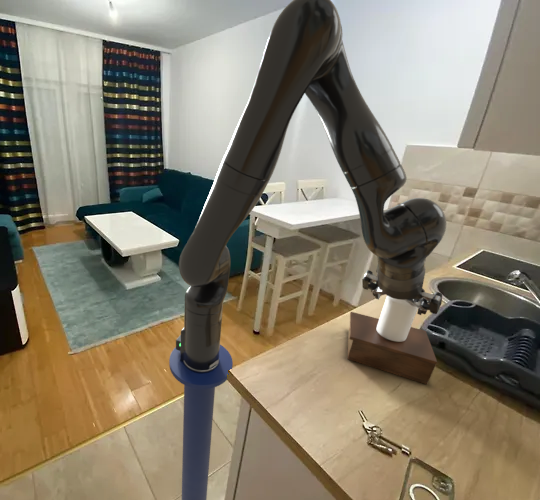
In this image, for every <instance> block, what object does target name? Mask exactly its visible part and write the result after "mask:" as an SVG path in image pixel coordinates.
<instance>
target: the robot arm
mask: <svg viewBox="0 0 540 500" xmlns="http://www.w3.org/2000/svg"><path fill="white" fill-rule="evenodd" d="M342 26H343V25H342V21H341V18H340V15H339V12H338V10H337V7H336V5H335V4H334V3H333V1H332V0H291V2H289V3H288V4H287V5H286V6H285V7H284V9H282V11H281V12H280V13H279V15H278V17H277V18H276V19H275V22H274V23H273V26H272V28H271V30H270V33H269V36H268V39H267V42H266V45H265V49H264V51H263V56H262V59H261V62H260V65H259V69H258V72H257V74H256V77H255V81H254V84H253V88H252V89H251V93H250V95H249V99H248V101H247V104H246V105H245V107H244V110H243V113H242V115H241V117H240V119H239V121H238V123H237V126H236V128H235V130H234V132H233V135H232V138H231V140H230V142H229V145H228V147H227V150H226V151H225V154H224V155H223V158H222V160H221V163H220V165H219V168H218V171H217V173H216V176H215V178H214V180H213V184H212V186H211V189H210V191H209V194H208V196H207V199H206V201H205V203H204V206H203V209H202V211H201V214H200V216H199V219H198V221H197V223H196V225H195V228H194V229H193V230H192V231H193V232H192V233H191V235H190V236H189V238H188V240H187V243H186V244H185V245H184V247H183V249H182V251H181V253H180V256H179V260H178V269H179V274H180V277H181V278H182V280H183V281H184V282H185V284H187V285H189V286H188V288H187V290H186V291H185V294H184V310H183V312H184V313H183V315H184V316H183V318H184V319H183V328H182V329H181V330H180V334H179V336H178V337H177V338H176V339H175V347H176V350H179V351H180V361H182V362H183V363H184V365H185V366H186V367H187V368H188V369H189V370H191V371H193V372H196V373H208V372H211V371H213V370H214V369H216V367H217V366H218V364H219V350H220V345H221V336H222V324H223V323H222V322H223V311H224V301H225V298H226V296H227V293H228V288H229V283H230V282H229V280H230V273H231V254H230V250H229V248H228V247H227V244H228V242H229V240H230V239H231V238H232V236H233V234H234V233H235V232H236V231H237V230H238V228H239V227H241V225H242V224H243V223H244V221H245V220H246V219H247V217H248V216H249V215H250V214H251V212H252V211H253V210H254V208H255V207H256V205H257V204H258V203H259V201H260V199H261V197H262V196H263V194H264V191H266V188H267V187H268V184H269V182H270V181H271V179H272V177H273V174H274V173H275V170H276V167H277V164H278V162H279V159H280V156H281V152H282V149H283V145H284V142H285V139H286V135H287V131H288V129H289V126H290V123H291V120H292V118H293V115H294V113H295V111H296V109H297V107H298V106H299V104H300V102H301V101H302V99H303V97H304V95H305V96H306V97H307V99H308V100H309V101H310V103H311V105H312V107H313V108H314V110H315V111H316V113H317V115H318V117H319V119H320V121H321V124H322V126H323V128H324V131H325V133H326V136H327V139H328V142H329V144H330V147H331V150H332V152H333V155H334V157H335V159H336V161H337V164H338V166H339V168H340V170H341V172H342V174H343V176H344V177H345V180H346V181H347V184H348V185H349V187H350V189H351V191H352V194H353V195H354V198H355V202H356V206H357V209H358V210H357V211H358V214H359V221H360V226H361V227H360V228H361V234H362V238H363V241H364V244H365V246H366V247H367V249H368V250H369V252H371V253H372V254H373V255H375V256H376V259H377V263H376V270H375V271H376V275H377V276H376V275H375V274H374V273H373V271H371V270H369V269H367V270H366V271H365V273H364V275H363V277H362V279H361V280H362V284H361V286H362V289H364V290H367V291H368V290H370V292H371V293H372V296H373V297H374V298H375V299H376V300H378V301H379V300H380V298H381V296H384V295H386V297H387V296H389V297H391V298H394V299H401V300H405V301H406V302H407V303H409V304H410V305H411V306H415V307H417V308H418V309H417V312H416V315H419V316H422V315H426V314H427V312H428V311H429V313H431V314H434V315H437V314H438V312H439V310H440V308H441V306H442V302H443V293H442V292H440V291H434V293H429V292H426V291H425V289H424V287H423V286H424V282H425V276H426V259H427V258H428V256H429V255H431V254H432V252H434V251H435V249H436V248H437V247H438V245H439V244H440V243H441V241H442V240H443V238H444V236H445V234H446V230H447V217H446V215H445V214H446V213H445V212H444V210H443V208H442V207H441V206H440V205H439V204H438V203H437V202H435V201H434V200H432V199H429V198H425V197H415V198H410V199H407V200H405V201H403V202H400V203H399V204H397V205H395V206H392V207H391V208H388V209H386V210H385V204H386V202H387V201H388V200H389V198H390V197H392V196H393V195H394V194H395V193H396V192H397V191H399V190H400V189H402V188H403V187H404V186H405V184H406V183H407V178H408V177H407V173H406V172H405V170H404V167H403V165H402V164H401V161H400V159H399V157H398V155H397V153H396V151H395V149H394V148H393V144H392V143H391V141H390V139H389V138H388V136H387V134H386V132H385V130H384V128H383V127H382V125H381V124H380V122H379V121H378V119H377V118H376V116H375V114H374V113H373V111H372V110H371V108H370V107H369V105H368V104H367V102H366V100H365V98H364V97H363V95H362V93H361V90H360V89H359V87H358V85H357V83H356V80H355V78H354V76H353V72H352V70H351V67H350V64H349V60H348V55H347V53H346V48H345V45H344V42H343V27H342ZM384 210H385V211H384Z"/></svg>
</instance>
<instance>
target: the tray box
mask: <svg viewBox="0 0 540 500" xmlns="http://www.w3.org/2000/svg"><path fill="white" fill-rule="evenodd" d="M347 334H348V335H347V360H349V361H352V362H355V363H359V364H361V365H364V366H367V367H371V368H374V369H377V370H380V371H382V372H383V371H384V372H387V373H390V374H393V375H396V376H399V377H402V378H405V379H407V380H408V379H409V380H412V381H415V382H417V383H421V384H424V385H428V383H429V381H430V379H431V377H432V374H433V372H434V370H435V368H436V365H437V363H436V364H432V363H429V362H426V361H422V360H419V359H415V358H412V357H409V356H405V355H402V354H398V353H395V352H392V351H388V350H385V349H381V348H378V347H374V346H371V345H368V344H364V343H361V342H357V341H354V340H351V339H349V337H350V327H349V328H348V331H347Z"/></svg>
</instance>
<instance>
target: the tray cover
mask: <svg viewBox="0 0 540 500" xmlns="http://www.w3.org/2000/svg"><path fill="white" fill-rule="evenodd" d="M378 321H379V318H377V317H374V316H369V315H365V314H363V313H357V312H353V311H350V313H349V328H350V337H349V339H351V340H354V341H357V342H361V343H364V344H368V345H371V346H374V347H378V348H381V349H385V350H388V351H392V352H395V353H398V354H402V355H405V356H409V357H412V358H415V359H419V360H422V361H426V362H429V363H432V364H436V365H437V364H438V361H437V357H436V355H435V352H434V349H433V346H432V344H431V341H430V338H429V336H428V333H427V331H426V330H424V329H420V328H416V327H413V326H411V328H410V331H409V333H408V336H407V338H406V340H405V341H402V342H394V341H390V340H388V339H385V338H384V337H382V336H381V335H380V334H379V333H378V332H377V330H376V328H377V324H378Z"/></svg>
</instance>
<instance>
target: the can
mask: <svg viewBox="0 0 540 500" xmlns="http://www.w3.org/2000/svg"><path fill="white" fill-rule="evenodd" d="M384 299H385V300H384V303H383V306H382V309H381V312H380V315H379V318H378V319H379V321H378V324H377V328H376V330H377V332H378V333H379V334H380V335H381V336H382V337H384V338H385V339H388V340H390V341H394V342H402V341H405V340H406V338H407V336H408V333H409V331H410V328H411V327H412V325H413V322H414V320H415V317H416V315H417V312H418V308H417V307H415V306H411V305H410V304H409V303H407V302H406V301H405V300H401V299H394V298H391V297H389V296H387V295H386V296H385V298H384Z"/></svg>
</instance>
